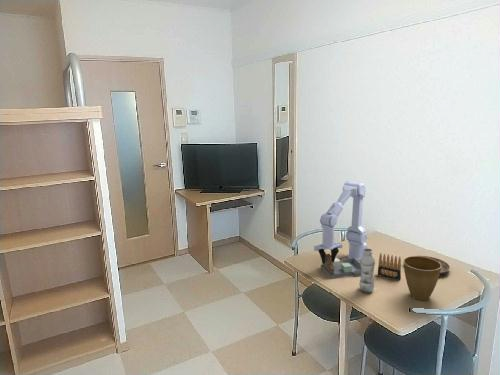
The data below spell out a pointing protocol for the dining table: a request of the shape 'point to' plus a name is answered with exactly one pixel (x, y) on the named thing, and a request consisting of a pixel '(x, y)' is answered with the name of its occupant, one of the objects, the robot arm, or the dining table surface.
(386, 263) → the ammunition clip
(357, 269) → the tray
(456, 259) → the dining table surface
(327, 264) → the walnut mallet
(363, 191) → the robot arm
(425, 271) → the plant pot
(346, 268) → the pale mint cube
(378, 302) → the dining table surface
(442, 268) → the plant saucer
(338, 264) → the matte white cube
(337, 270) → the charcoal board
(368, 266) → the plastic bottle
